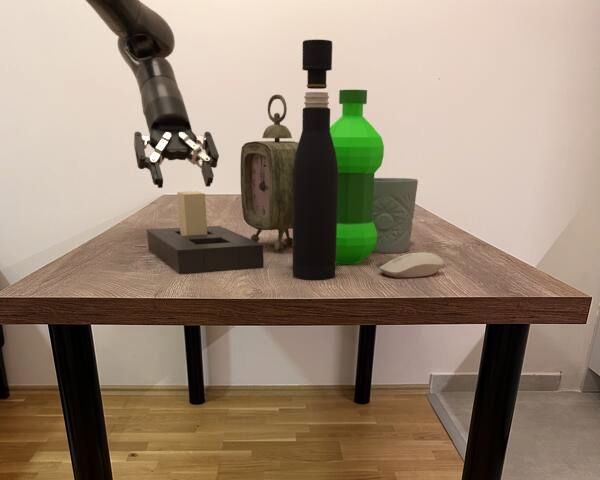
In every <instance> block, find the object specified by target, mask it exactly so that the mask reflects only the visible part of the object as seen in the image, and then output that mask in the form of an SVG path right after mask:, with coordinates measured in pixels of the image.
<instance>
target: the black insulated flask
mask: <svg viewBox="0 0 600 480" xmlns="http://www.w3.org/2000/svg"><path fill="white" fill-rule="evenodd" d="M332 65H333V41H332V40H329V39H305V40H303V41H302V67H301V69H302V71H306V72H307V80H306V81H307V84H306V87H307V89H311V90H325V89H327V87H328V85H327V72H328V71H332V70H333V66H332ZM303 97H304V100H305V101H304V102H303V104H304V107H302V121H301V123H302V125H301V127H302V128H301V129H302V131H301V134H300V137H299V141H298V142H299V143H298V147H297V150H296V155H295V160H294V166H293V229H292V239H293V245H292V277H294V278H297V279H300V280H309V281H310V280H311V281H320V280H321V281H322V280H329V279H333V278H335V277H336V271H337V270H336V266H337V263H336V236H337V202H338V165H337V158H336V152H335V148H334V144H333V140H332V137H331V133H330V127H331V108H330V107H329V104H330V102H329V99H330V96H329V92H326V91H325V92H324V91H306V92H305V95H304V96H303Z"/></svg>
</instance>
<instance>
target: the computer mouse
mask: <svg viewBox="0 0 600 480" xmlns="http://www.w3.org/2000/svg"><path fill="white" fill-rule="evenodd" d="M443 266H444V260H443V259H442V258H441V257H440V256H439V255H436V254H435V253H430V252H411V253H406V254H402V255H400V256H397V257H395V258H393V259H391V260H389V261H387V262H386V263H384V264H383V265H381V266H379V270H380V272H381V273H382V274H384V275H386V276H388V277H391V278H396V279H397V278H398V279H400V278H416V277H417V278H418V277H419V278H420V277H427V276H432V275H434V274H436V273H437V272H438V271H439V270H440V269H441V268H442V267H443Z"/></svg>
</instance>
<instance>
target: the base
mask: <svg viewBox="0 0 600 480" xmlns="http://www.w3.org/2000/svg"><path fill="white" fill-rule="evenodd" d="M146 235H147V247H148V251H149V252H151V253H152V254H154V255H155V256H156V258H159V259H160V261H162V262H163V263H165V264H166V265H168V266H169V267H170V268H171V269H172V270H174V271H175V272H176V273H177V274H179V275H183V274H196V273H197V274H198V273H211V272H221V271H234V270H248V269H259V268H265V266H264V265H265V264H264V262H265V261H264V244H262V243H260V242H259V241H258V242H256V241H253V240H251V238H249V237H246V236H244V235H242V234H239V233H237V232H235V231H232V230H230V229H228V228H226V227H223V226H222V225H212V226H211V225H209V226H208V225H207V235H189V236H181V233H180V227H172V228H171V227H170V228H169V227H168V228H150V229H146Z"/></svg>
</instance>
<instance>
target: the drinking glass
mask: <svg viewBox="0 0 600 480" xmlns="http://www.w3.org/2000/svg"><path fill="white" fill-rule="evenodd" d="M418 183H419V181H418V178H407V177H406V178H405V177H374V192H373V211H372V221H373V223H374V225H375V228H376V232H377V242H376V245H375V248H374V250H373V251H372V253H376V254H401V253H402V254H403V253H407V252H409V250H410V247H411V238H412V237H411V236H412V230H413V220H414V215H415V208H416V200H417V199H416V198H417V191H418V185H419V184H418Z"/></svg>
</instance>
